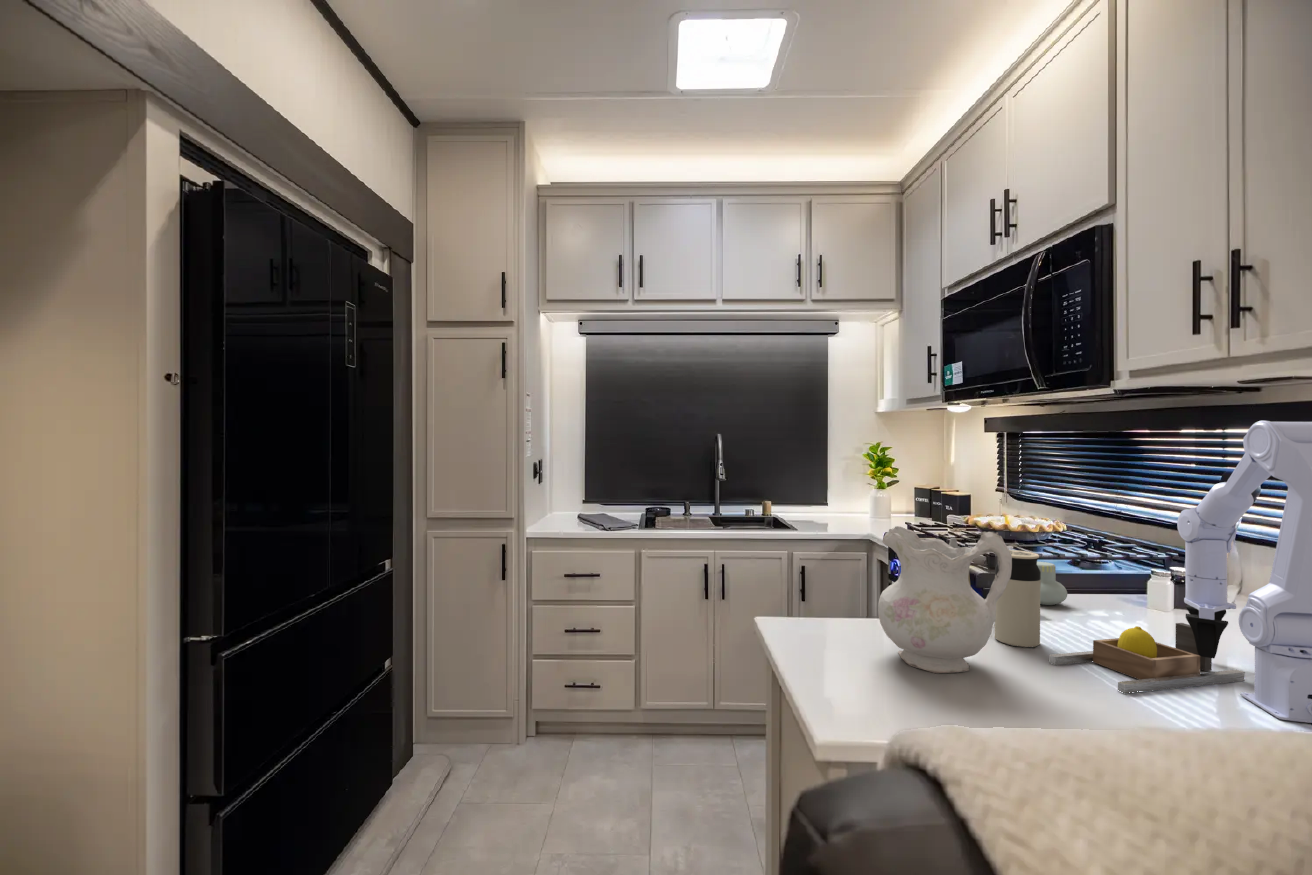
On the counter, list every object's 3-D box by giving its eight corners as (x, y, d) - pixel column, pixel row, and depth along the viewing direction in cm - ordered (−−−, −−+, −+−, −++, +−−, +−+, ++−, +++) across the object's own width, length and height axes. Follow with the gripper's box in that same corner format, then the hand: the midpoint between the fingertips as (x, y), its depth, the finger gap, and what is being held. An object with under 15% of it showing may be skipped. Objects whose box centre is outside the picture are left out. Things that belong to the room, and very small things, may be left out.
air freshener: (1072, 608, 151) (1073, 567, 151) (1040, 608, 151) (1040, 567, 151) (1042, 597, 162) (1043, 559, 162) (1012, 597, 162) (1012, 559, 162)
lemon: (1163, 679, 106) (1165, 632, 106) (1127, 675, 107) (1129, 628, 107) (1144, 668, 111) (1146, 624, 111) (1109, 664, 112) (1112, 620, 112)
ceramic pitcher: (993, 658, 118) (991, 527, 120) (1025, 689, 99) (1021, 534, 101) (874, 647, 124) (874, 523, 126) (883, 675, 105) (882, 528, 107)
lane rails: (1124, 694, 99) (1125, 684, 99) (1049, 662, 113) (1049, 654, 113) (1244, 680, 105) (1244, 672, 105) (1158, 652, 119) (1158, 645, 119)
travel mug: (1029, 650, 119) (1030, 558, 119) (987, 639, 126) (988, 551, 126) (1046, 643, 124) (1047, 554, 124) (1005, 633, 130) (1006, 548, 131)
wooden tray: (1151, 684, 103) (1152, 642, 103) (1093, 661, 113) (1093, 623, 113) (1231, 675, 107) (1231, 635, 107) (1167, 655, 117) (1167, 618, 117)
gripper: (1238, 586, 104) (1238, 666, 104) (1234, 574, 115) (1234, 647, 115) (1183, 579, 109) (1183, 657, 109) (1184, 568, 120) (1184, 638, 120)
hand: (1206, 651), depth 112 cm, fingers open, 7 cm apart
